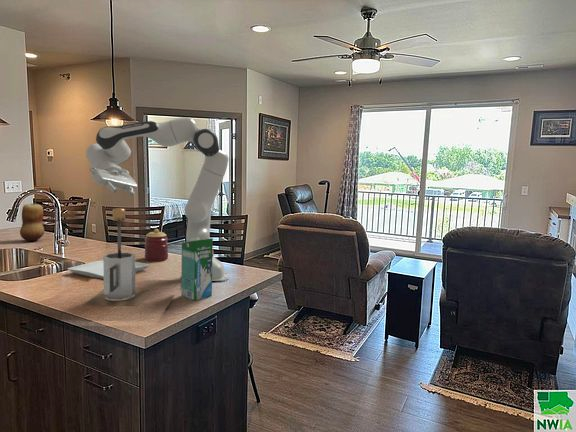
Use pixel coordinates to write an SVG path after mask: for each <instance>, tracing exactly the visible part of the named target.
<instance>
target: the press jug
mask: <svg viewBox="0 0 576 432" xmlns="http://www.w3.org/2000/svg"><path fill="white" fill-rule="evenodd" d="M102 258H103V259H102V260H103V266H104V279H103V289H104V299H105V300H107V301H112V302H119V301H126V300H130V299H132V298H134V297H135V289H136V272H135V262H136V254H134V253H132V252H121V258H118V252H112V253H111V252H110V253H107V254H104V256H103V257H102Z"/></svg>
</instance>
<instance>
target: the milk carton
mask: <svg viewBox="0 0 576 432" xmlns="http://www.w3.org/2000/svg"><path fill="white" fill-rule="evenodd" d="M213 239H214V238H213V237H212V238H211V237H210V239H203V240H199V237H197V238H191V239H190V242H186V241H184V242H181V282H180V283H181V285H180V286H181V290H180V292H181V293H180V294H181V296H182V297H183V298H186V299H189V300H191V301H194V302H195V301H199V300H202V298H203V299H206V298H209V296H210V297H212V295H213V292H212V291H213V289H212V288H213V282H212V252H214V249H213V247H214V246H213V243H214V241H213ZM205 297H206V298H205Z"/></svg>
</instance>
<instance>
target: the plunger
mask: <svg viewBox="0 0 576 432" xmlns="http://www.w3.org/2000/svg"><path fill="white" fill-rule="evenodd" d="M112 221H114V222H115V221H116V222H117V224H116V225H117V226H116V227H117V228H116V229H117V230H116V231H117V253H118V258H121V253H122V227H121V226H122V223H121V222H123V221H126V208H121V207H119V208H112Z"/></svg>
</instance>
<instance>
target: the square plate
mask: <svg viewBox="0 0 576 432" xmlns="http://www.w3.org/2000/svg"><path fill="white" fill-rule="evenodd" d="M149 266H150V264H149V263H145V262H138V261H135V273H137V272H141V271H144V270H146V269H147V268H148V267H149ZM67 270H68V271H69V272H71V273H73V274H77V275H82V276H85V277H90V278H95V279H100V280H104V266H103V259H102V260H97V261H92V262H87V263H83V264H80V265H79V264H78V265H75V266H72V267H67Z"/></svg>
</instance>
